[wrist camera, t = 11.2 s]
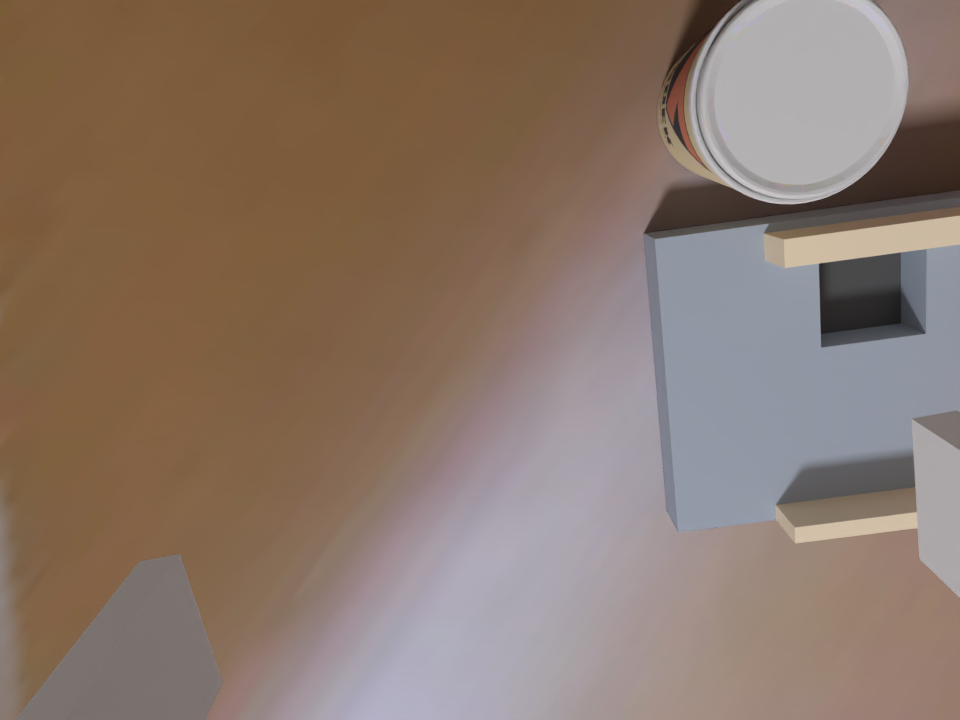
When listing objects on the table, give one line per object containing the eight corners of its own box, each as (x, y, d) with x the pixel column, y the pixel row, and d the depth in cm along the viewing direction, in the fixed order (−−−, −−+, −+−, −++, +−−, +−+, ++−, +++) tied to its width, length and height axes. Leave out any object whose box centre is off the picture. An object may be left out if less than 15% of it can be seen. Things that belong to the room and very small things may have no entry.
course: (643, 233, 48) (667, 245, 42) (1059, 176, 47) (1142, 181, 41) (666, 510, 52) (691, 556, 46) (1045, 462, 52) (1117, 502, 46)
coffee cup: (668, 2, 44) (733, -53, 33) (830, 43, 45) (950, 4, 33) (622, 172, 47) (667, 177, 35) (777, 209, 47) (872, 226, 36)
